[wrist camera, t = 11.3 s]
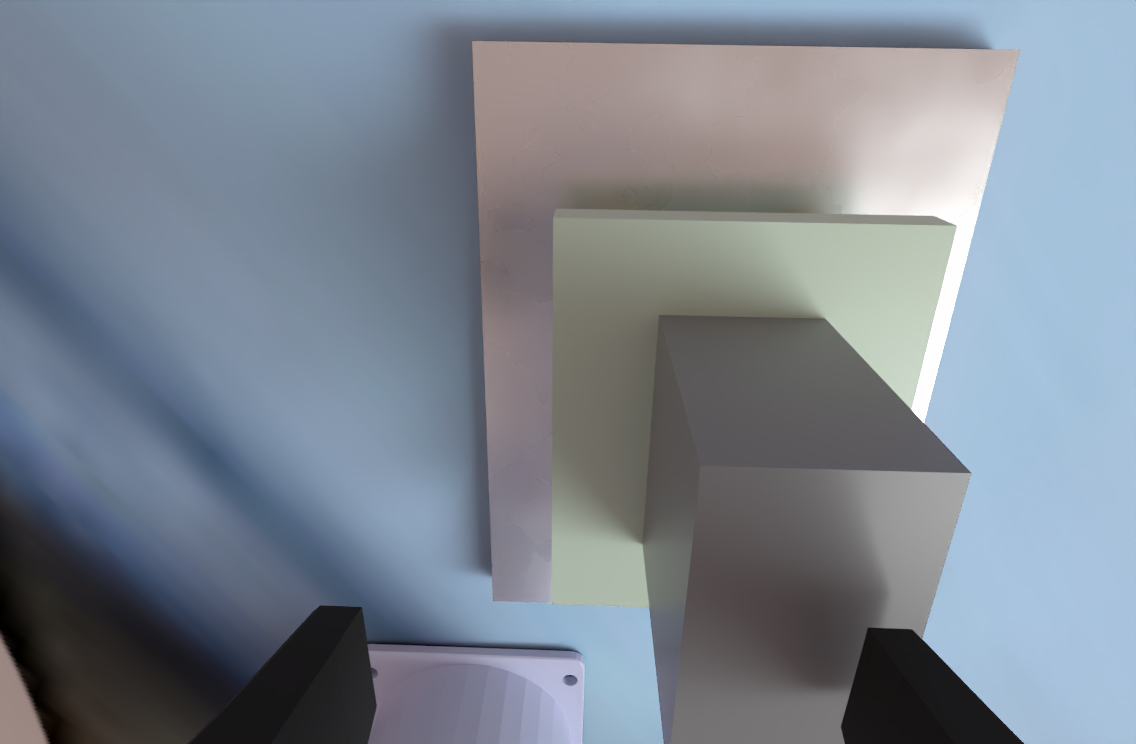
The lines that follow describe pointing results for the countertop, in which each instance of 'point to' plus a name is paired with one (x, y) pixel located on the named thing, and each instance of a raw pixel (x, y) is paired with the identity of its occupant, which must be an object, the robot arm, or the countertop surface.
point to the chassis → (694, 193)
